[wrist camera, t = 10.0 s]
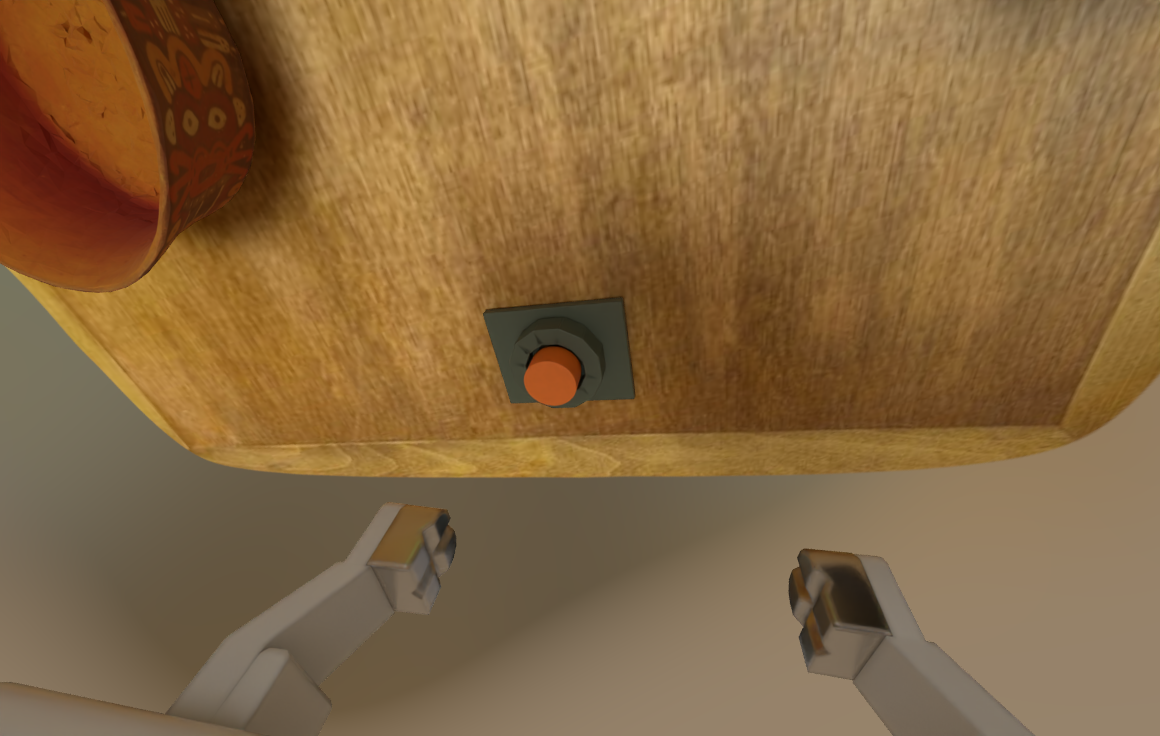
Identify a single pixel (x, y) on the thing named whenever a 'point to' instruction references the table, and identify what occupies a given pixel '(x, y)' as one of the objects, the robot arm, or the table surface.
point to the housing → (566, 346)
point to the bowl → (114, 133)
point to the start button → (553, 376)
